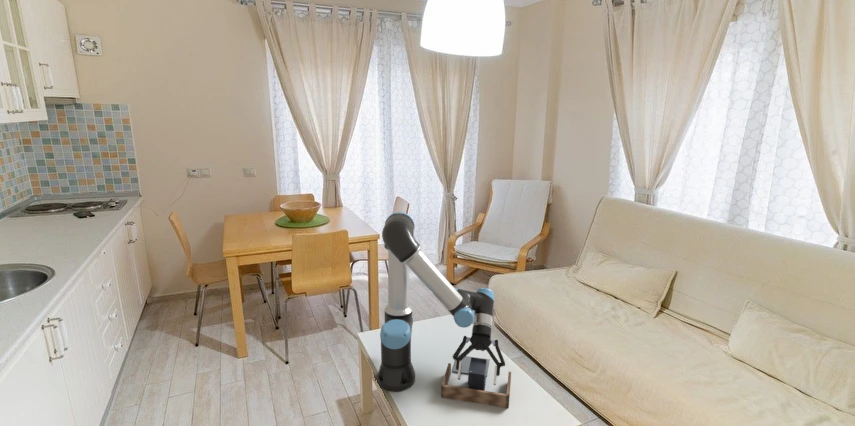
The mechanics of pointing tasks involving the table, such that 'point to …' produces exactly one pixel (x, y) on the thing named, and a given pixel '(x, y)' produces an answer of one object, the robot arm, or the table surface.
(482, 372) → the small box
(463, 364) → the rubber mat
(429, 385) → the table surface
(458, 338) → the table surface
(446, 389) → the walnut bay
